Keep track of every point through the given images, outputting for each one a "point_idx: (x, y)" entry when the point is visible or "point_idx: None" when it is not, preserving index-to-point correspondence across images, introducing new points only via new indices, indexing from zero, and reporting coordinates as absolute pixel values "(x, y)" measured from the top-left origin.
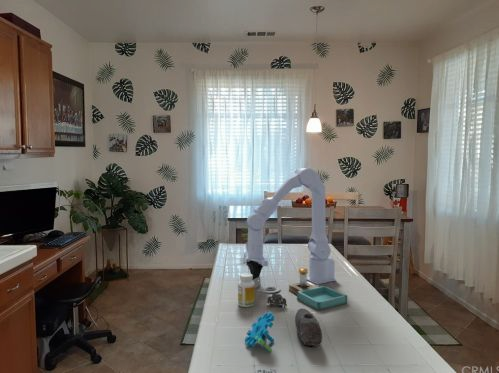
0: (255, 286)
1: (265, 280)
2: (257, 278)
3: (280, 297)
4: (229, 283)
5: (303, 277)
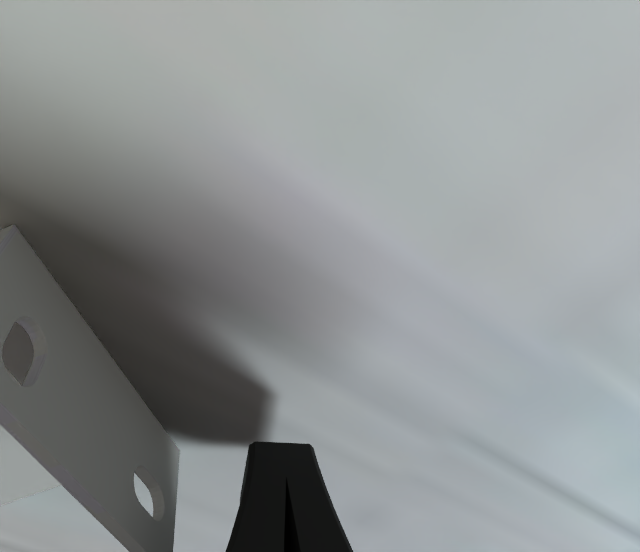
0: (90, 359)
1: None
2: (110, 519)
3: None
4: (608, 98)
5: None
